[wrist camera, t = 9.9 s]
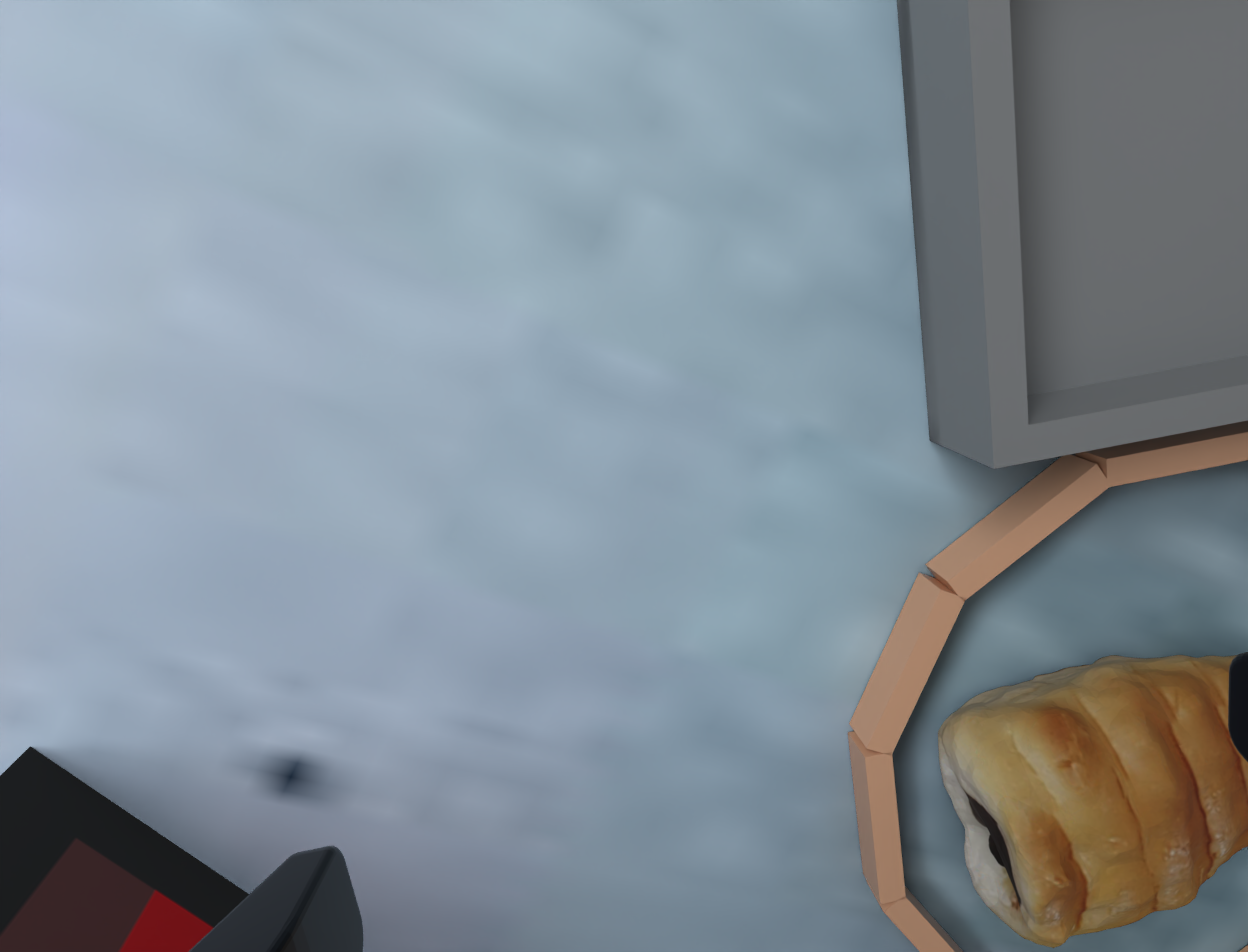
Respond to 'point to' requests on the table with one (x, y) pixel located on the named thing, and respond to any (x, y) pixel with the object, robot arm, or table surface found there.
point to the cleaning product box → (95, 872)
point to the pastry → (1097, 792)
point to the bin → (1078, 219)
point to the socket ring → (938, 609)
